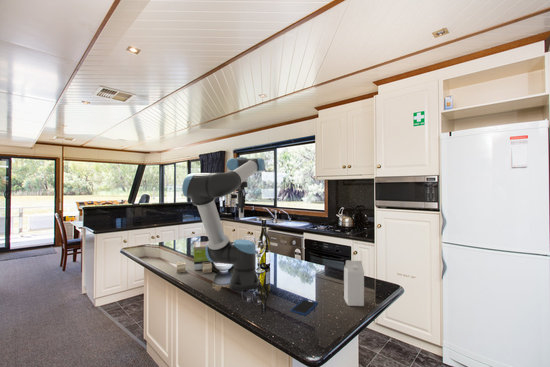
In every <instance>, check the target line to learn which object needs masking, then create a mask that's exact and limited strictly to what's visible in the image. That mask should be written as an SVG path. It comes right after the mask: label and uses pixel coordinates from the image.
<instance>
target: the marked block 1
mask: <svg viewBox="0 0 550 367" xmlns="http://www.w3.org/2000/svg"><path fill="white" fill-rule="evenodd" d="M178 272H179V273H186V261H177V262H176V273H177V274H178Z"/></svg>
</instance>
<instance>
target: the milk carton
mask: <svg viewBox="0 0 550 367" xmlns="http://www.w3.org/2000/svg"><path fill="white" fill-rule="evenodd" d="M362 262H363V260H345V264H344V266H343V299H344V301H345V304H346V305H347V306H348V307H349V306H350V307H351V306H352V307H364V306H365V271H364V266H363V263H362Z"/></svg>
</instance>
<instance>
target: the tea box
mask: <svg viewBox="0 0 550 367" xmlns="http://www.w3.org/2000/svg"><path fill="white" fill-rule="evenodd" d="M208 241H209V240H207V241H198V242H197V241H194V242H193V270H194V271H196V270H197V271H199V270H200V271H201V270H202V265H203V262H211V261H209V260H208V259H207V257H206V246H207V244H208Z"/></svg>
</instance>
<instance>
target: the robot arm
mask: <svg viewBox="0 0 550 367" xmlns="http://www.w3.org/2000/svg"><path fill="white" fill-rule="evenodd" d="M265 167H266V163H265V159H263V158H260V157H257V158H256V157H255V158H248V157H243V156H239V157H236V158H233V157H232V158H229V159H227V161H226V168H227V169H228V171H226V172H194V173H189V174H187V175H186V176H185V178H184V179H183V181H182V182H183V183H182V186H181V191H182V194H183V196H184V197H185V198H188V199H190V201H191V202H192V203H191V204H192V205H193V206H196V207H197V210H198V214H199V216H200V219H201V222H202V224H203V227H204V230H205V233H206V236H207V238H208V240H207V241H208V244H207V246H206V257H207V259H208V260H209V261H210V262H211V263H214V264H227V265H233V271H232V275H231V278H230V282H229V287H230V288H231V289H233V290H237V291H249V290H254V289H256V288H257V287H259V284H260V283H259V282H260V281H259V276H258V274H257V271H256V270H257V269H256V267H257V266H256V262H257V259H256V258H257V248H256V243H255V242H253V241H252V240H250V239H249V240H248V239H245V238H243V239H241V238H240V239H239V238H238V239H235V240H234V241H233V242H232V241H231V240H230V237H229V236H228V235H227V234H225V232H224V227H223V224H222V222H221V218H220V215H219V212H218V209H217V205H216V201H215V200H216V199H219V198H223V197H225V196H228V195H230V194H232V193H234V192H236V191H237V204H238V205H237V206H238V218H239V219H244V218H245V216H244V215H245V213H244V212H245V206H246V194H247V192H246V190H245V188H248V184H249V183H248V178H250V177H251V176H252V175H254V174H255V173H257V172H261V171H262V172H263V171H264V170H265Z"/></svg>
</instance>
